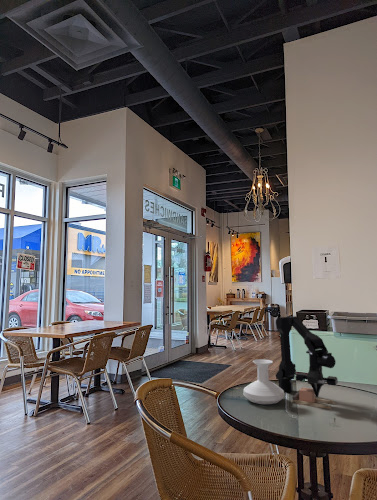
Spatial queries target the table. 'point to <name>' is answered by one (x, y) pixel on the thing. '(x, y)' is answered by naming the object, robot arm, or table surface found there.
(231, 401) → the table surface
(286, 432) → the table surface
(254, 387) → the white vase
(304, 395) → the block
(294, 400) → the chute
